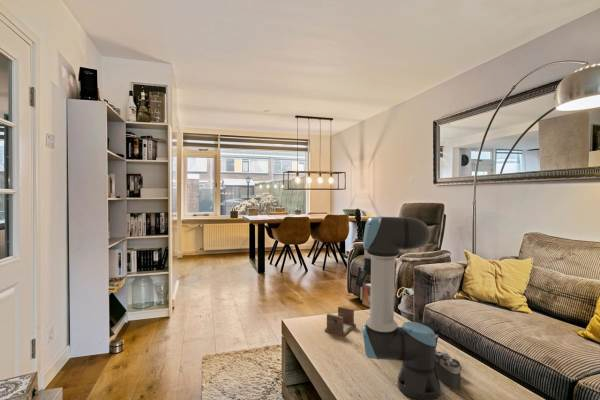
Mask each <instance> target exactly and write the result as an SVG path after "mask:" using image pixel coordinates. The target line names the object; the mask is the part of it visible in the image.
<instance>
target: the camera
mask: <svg viewBox="0 0 600 400" xmlns="http://www.w3.org/2000/svg"><path fill="white" fill-rule="evenodd" d="M435 370H436V374H437V377H438V380H439V381H441V382H442V383H443V384H444V383H445V384H444V385H446V386H447V387H449V389H452V390H453V389H455V390H454V391H457V390H456V389H458V390H460V389H461V388H462V387H461V379H462V378H461V377H462V374H461V371H462V365H461V363H460V361H459V360H457V359H456V358H453V357H452V356H451V355H450V354H449V353H448V352H446V351H439V350H436V362H435Z"/></svg>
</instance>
